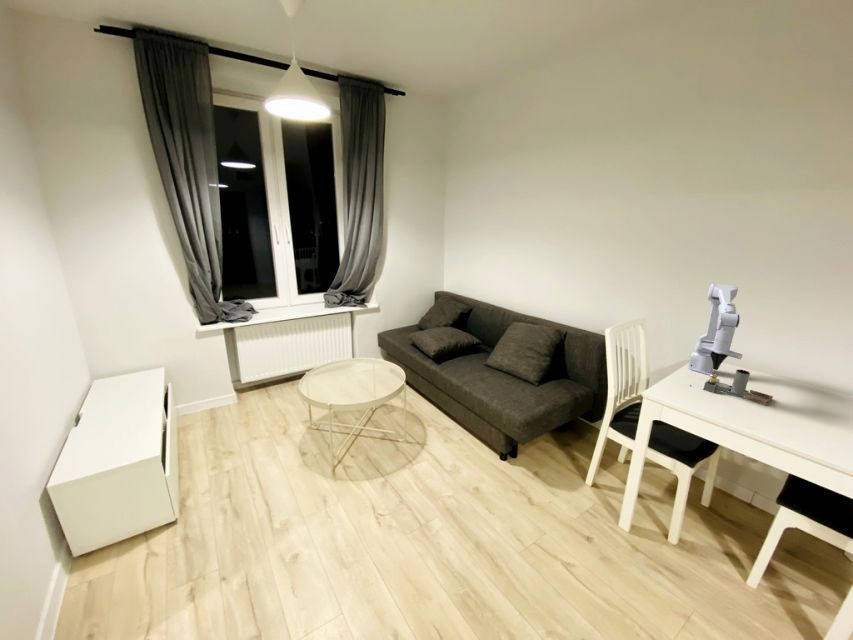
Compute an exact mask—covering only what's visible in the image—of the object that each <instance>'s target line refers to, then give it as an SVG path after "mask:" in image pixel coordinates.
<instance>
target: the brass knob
mask: <svg viewBox="0 0 853 640" xmlns="http://www.w3.org/2000/svg"><path fill="white" fill-rule="evenodd" d="M717 378H718V374H716V373H711V374H710V375H709V379H710V380H709V379H708V381H709V384H712V385H714V384H715V380H716V379H717Z"/></svg>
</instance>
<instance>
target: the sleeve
mask: <svg viewBox="0 0 853 640" xmlns="http://www.w3.org/2000/svg"><path fill="white" fill-rule="evenodd" d="M719 382H720V381H719ZM720 383H723V384H726V383H724V382H720ZM726 385H728V384H726ZM729 385H730V388H729V389H731V388H732V385H731V384H729ZM716 391H719V392H723V393H725V394H727V395H731V396H734V397H739V398H742V399H744V398H745V395H739V394H736V393H733V392H731V390H730V391H729V390H727V391H726V390H723V389H720V388H717V390H716ZM744 393H746V394H750V390H747V389H745V392H744Z"/></svg>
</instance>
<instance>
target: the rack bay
mask: <svg viewBox="0 0 853 640" xmlns="http://www.w3.org/2000/svg"><path fill="white" fill-rule="evenodd" d="M749 394H750V395H747V394H745V395H744V398H743V399H744V400H747V401H751V402H753V403H757V404H759V405H762V406H765V407H766V406H768V405H769V404H770V402H771V401H773V398H774V396H773V395H770V394H767V393H764V392H760V391H757V390H753V389H750V390H749ZM751 395H753V396H757V397H761V398H763V399H760V398H756V397H753V396H751ZM764 399H766V400H764Z"/></svg>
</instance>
